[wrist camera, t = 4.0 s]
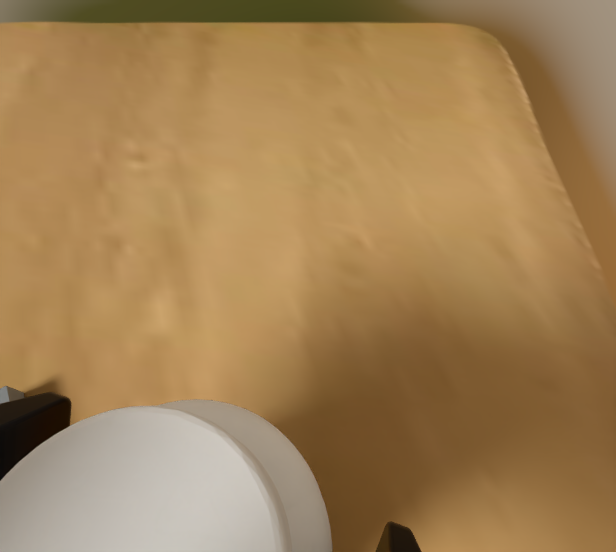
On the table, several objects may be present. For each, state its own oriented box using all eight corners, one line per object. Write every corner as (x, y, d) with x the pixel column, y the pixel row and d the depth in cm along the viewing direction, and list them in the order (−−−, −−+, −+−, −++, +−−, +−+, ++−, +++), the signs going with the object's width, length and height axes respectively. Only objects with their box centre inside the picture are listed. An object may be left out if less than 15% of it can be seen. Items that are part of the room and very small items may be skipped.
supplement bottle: (322, 447, 14) (351, 360, 6) (318, 649, 12) (358, 1040, 3) (170, 439, 14) (-20, 342, 6) (131, 639, 12) (-330, 995, 3)
